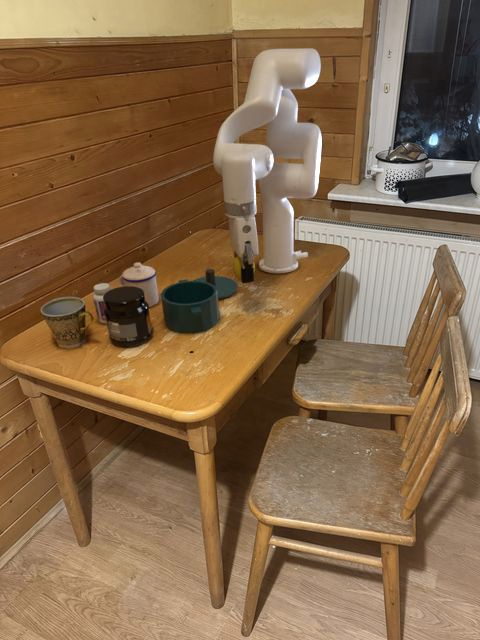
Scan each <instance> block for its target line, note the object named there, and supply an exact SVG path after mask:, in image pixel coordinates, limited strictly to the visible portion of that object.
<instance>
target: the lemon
mask: <svg viewBox="0 0 480 640" xmlns="http://www.w3.org/2000/svg"><path fill="white" fill-rule="evenodd" d="M243 256H246V253H244V254H243ZM245 261H247V258H245V259H244V263H245ZM253 265H254V272H255V271H256V265H255V262H254V263H253ZM241 268H242V264H241V258H240V257H239V256H238V255H237V256H236V258H235V259H234V258H233V262H232V272H233V274H234V276H235V278H236V279H238V280H239V281H241Z"/></svg>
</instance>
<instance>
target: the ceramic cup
mask: <svg viewBox="0 0 480 640" xmlns="http://www.w3.org/2000/svg"><path fill="white" fill-rule="evenodd" d="M40 313H41V315H42V317H43V319H44V322H45V323H46V325H47V326H48V328H49V329H50V331H51V333H52V336H53V337H54V339H55V342H56V343H57V345H58V347H59V348H62V349H67V350H71V349H75V348H79V347H81V346H82V345H84V344H85V343H86V342H87V332H86V331H87V328H88V327H89V326H90V325H92V324H93V322H94V320H95V319H94V316H93V314H92V313H91V312H90V311H86V301H85V300H84V299H83V298H81V297H78V296H63V297H57V298H55V299H52V300H49V301H47V302H46V303H44V304H43V305H42V306H41V308H40ZM86 316H88V317H89V318H90V322H89V323H87V324H86V318H87V317H86Z"/></svg>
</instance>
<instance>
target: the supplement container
mask: <svg viewBox="0 0 480 640" xmlns="http://www.w3.org/2000/svg"><path fill="white" fill-rule="evenodd" d="M103 300H104V305H105V307H104V315H105V318H106V322H107V323H106V327H107V331H108V337H109V340H110V342H111V343H112V344H114V345H115V346H117V347H118V346H119V347H122V348H131V347H132V348H133V347H137V346H139V345H142V344H144V343H146V342H148V341H149V339H151V337H152V336H153V328H152V321H151V315H150V310H149V308H150V307H149V306H148V303H147V301H146V300H145V294H144V291H143V290H142V289H141V288H139V287H135V286H123V287H121V286H118V287H115V288H112V289H111V288H110V290H109V291H108V292H106V293H105V294H104V296H103Z"/></svg>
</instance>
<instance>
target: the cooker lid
mask: <svg viewBox="0 0 480 640" xmlns="http://www.w3.org/2000/svg"><path fill="white" fill-rule="evenodd" d="M204 273H205V276H203V277H202V276H201V277H198V278H195V279H193V280H192V281H203V282H208V283H210V284H212V285H214V286H215V287H216V289H217V291H218V300H221V299H225V298H228V297H230V296H232V295H233V294H235V293H236V292H237V290H238V282H236V281H235V280H234V279H232V278H230V277H226V276H221V275H216V273H215V269H214V268H207V269H205V272H204Z"/></svg>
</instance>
